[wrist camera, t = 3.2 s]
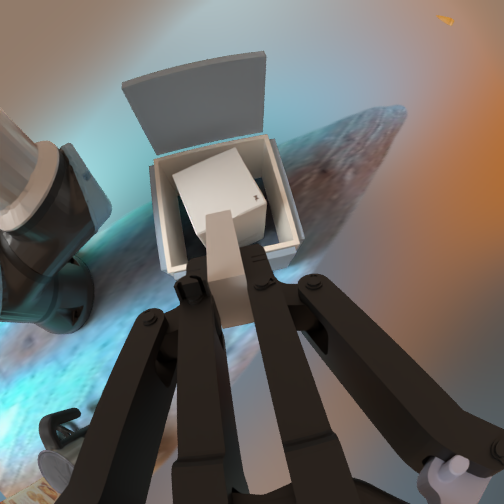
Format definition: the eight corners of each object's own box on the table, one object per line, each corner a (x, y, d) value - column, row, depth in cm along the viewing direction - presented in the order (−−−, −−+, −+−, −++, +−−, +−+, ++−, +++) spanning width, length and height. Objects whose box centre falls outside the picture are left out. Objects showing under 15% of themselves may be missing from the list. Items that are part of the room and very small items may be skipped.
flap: (262, 132, 38) (266, 56, 25) (156, 155, 38) (121, 88, 24) (261, 126, 39) (263, 51, 25) (156, 149, 38) (122, 82, 24)
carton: (294, 267, 46) (308, 249, 35) (184, 291, 46) (161, 281, 34) (269, 172, 50) (273, 133, 39) (169, 195, 49) (147, 161, 38)
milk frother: (133, 455, 39) (97, 492, 24) (88, 483, 36) (51, 513, 22) (82, 394, 41) (33, 411, 27) (44, 428, 39) (-1, 446, 24)
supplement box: (241, 192, 49) (237, 143, 35) (265, 238, 48) (270, 202, 33) (192, 214, 49) (169, 173, 34) (213, 262, 47) (196, 236, 32)
